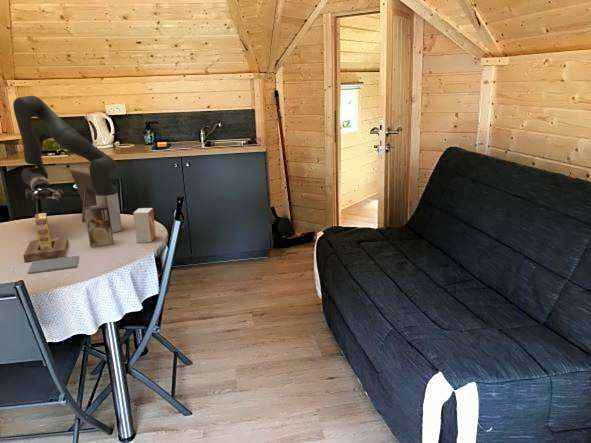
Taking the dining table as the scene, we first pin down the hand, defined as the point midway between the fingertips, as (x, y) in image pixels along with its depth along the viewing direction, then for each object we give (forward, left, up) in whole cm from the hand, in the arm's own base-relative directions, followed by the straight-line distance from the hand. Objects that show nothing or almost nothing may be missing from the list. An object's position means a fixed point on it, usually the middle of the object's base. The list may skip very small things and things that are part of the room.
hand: (48, 199), depth 198 cm
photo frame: (-13, -38, -19) cm, 45 cm away
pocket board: (+2, +13, -19) cm, 23 cm away
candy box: (+2, +13, -19) cm, 23 cm away
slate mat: (-2, +30, -19) cm, 35 cm away
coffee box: (-18, +10, -19) cm, 28 cm away
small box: (-36, +12, -19) cm, 43 cm away
